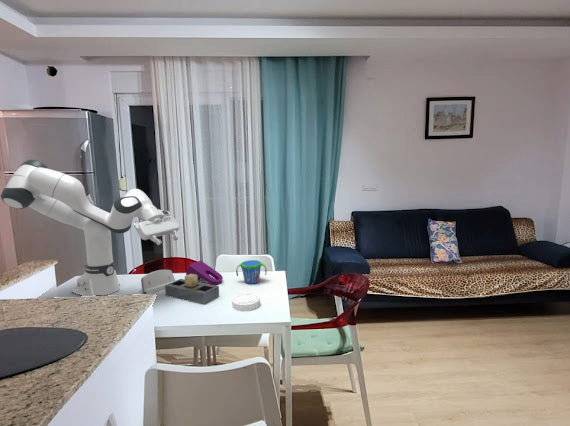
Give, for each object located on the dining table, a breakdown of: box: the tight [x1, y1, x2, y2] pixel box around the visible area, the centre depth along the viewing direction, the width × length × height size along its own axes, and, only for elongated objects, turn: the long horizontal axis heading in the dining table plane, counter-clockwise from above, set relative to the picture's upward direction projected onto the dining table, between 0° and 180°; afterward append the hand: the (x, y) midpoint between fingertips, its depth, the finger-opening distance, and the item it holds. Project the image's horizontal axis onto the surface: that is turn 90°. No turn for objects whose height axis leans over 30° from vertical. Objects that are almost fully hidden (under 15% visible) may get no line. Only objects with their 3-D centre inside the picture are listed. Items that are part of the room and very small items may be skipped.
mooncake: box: [231, 293, 261, 312], centre depth 150 cm, size 12×12×4 cm
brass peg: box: [184, 274, 199, 289], centre depth 161 cm, size 4×4×10 cm
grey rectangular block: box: [164, 278, 220, 305], centre depth 162 cm, size 24×10×5 cm, turn 61°
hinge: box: [140, 269, 176, 295], centre depth 173 cm, size 17×5×10 cm, turn 138°
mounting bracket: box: [185, 260, 224, 286], centre depth 181 cm, size 9×8×18 cm
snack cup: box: [235, 259, 267, 285], centre depth 179 cm, size 16×10×10 cm
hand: (168, 241), depth 153 cm, fingers open, 8 cm apart
